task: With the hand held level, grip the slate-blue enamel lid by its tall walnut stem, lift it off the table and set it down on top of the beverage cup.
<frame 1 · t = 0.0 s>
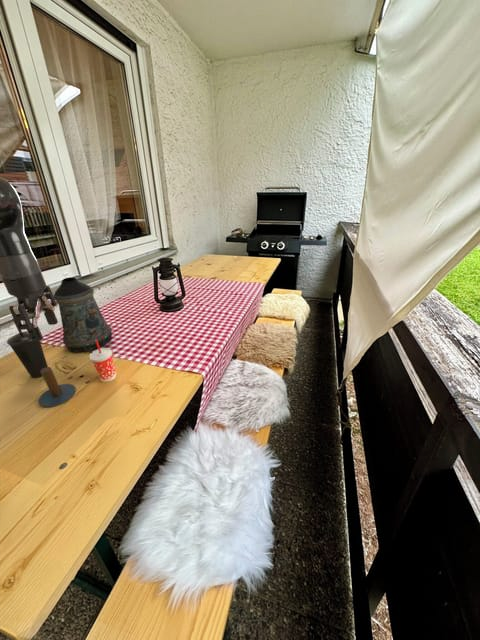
hand: (46, 331, 68), 20 cm above the table, tool pointing down, fingers open, 8 cm apart
beverage cup: (108, 377, 82), on the table
drinking cup: (40, 373, 84), on the table
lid: (57, 395, 75), on the table
beer stein: (87, 341, 101), on the table
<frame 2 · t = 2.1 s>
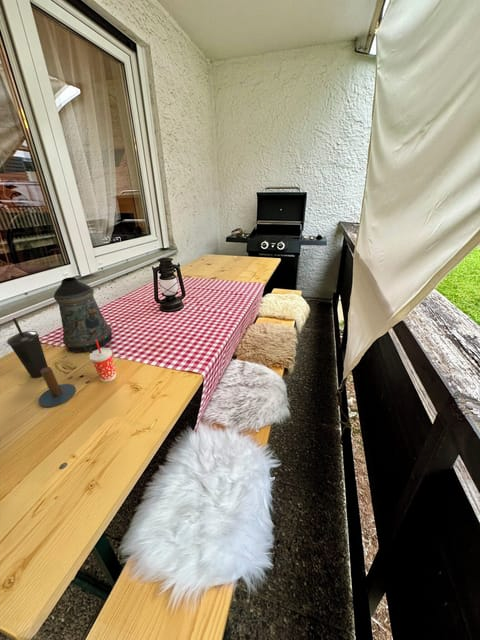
nothing on the table moved.
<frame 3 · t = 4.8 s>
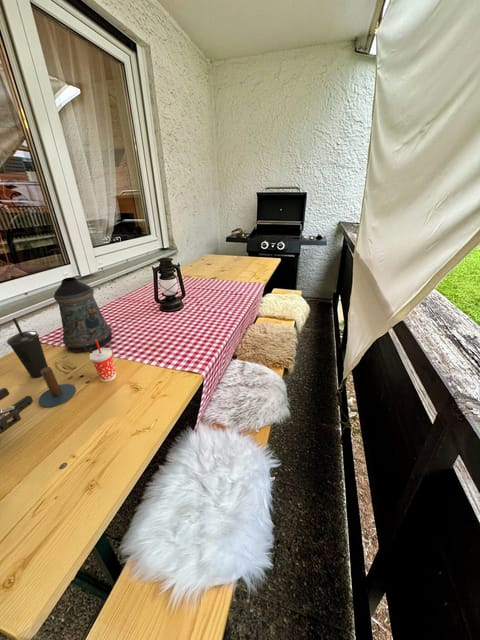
hand: (18, 394, 64), 8 cm above the table, tool horizontal, fingers open, 8 cm apart
nothing on the table moved.
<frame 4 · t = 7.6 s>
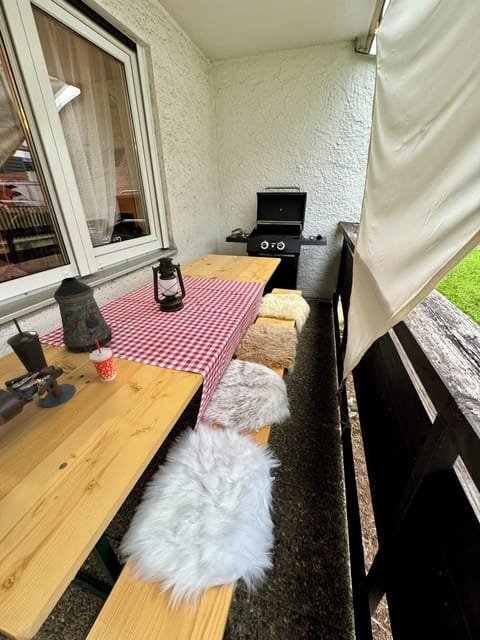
hand: (57, 368, 73), 8 cm above the table, tool horizontal, fingers closed on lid, 2 cm apart
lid: (57, 395, 75), on the table, touching gripper
everything else where it was.
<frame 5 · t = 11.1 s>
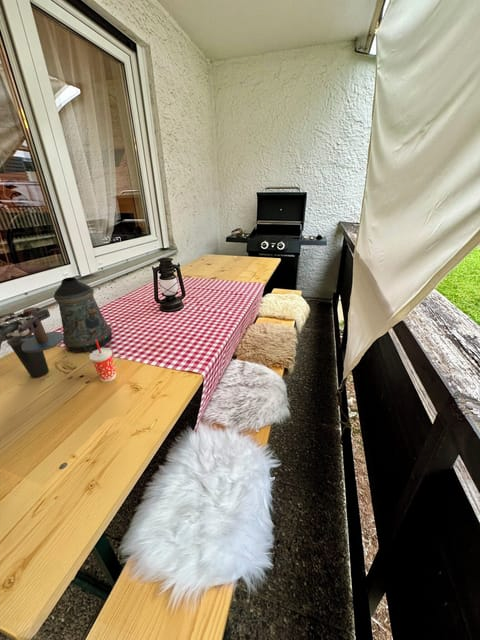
hand: (43, 311, 66), 25 cm above the table, tool horizontal, fingers closed on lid, 2 cm apart
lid: (43, 342, 67), point 18 cm above the table, touching gripper
everything else where it was.
when the fingers open (22 cm above the table, at t = 14.6 s): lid stays where it is, resting on beverage cup.
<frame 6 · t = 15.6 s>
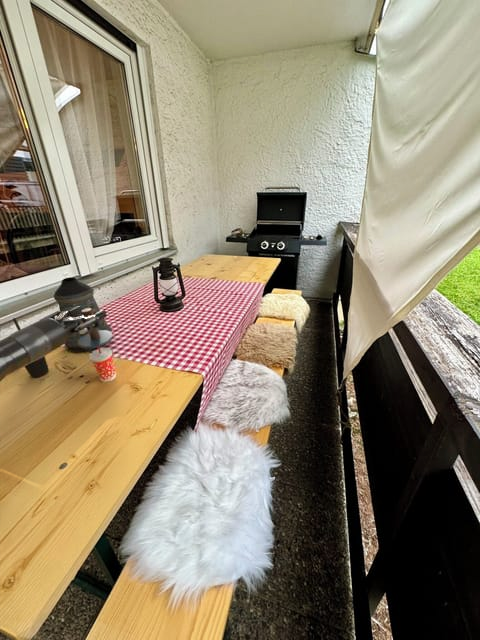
hand: (93, 311, 73), 22 cm above the table, tool horizontal, fingers open, 8 cm apart
beverage cup: (108, 377, 82), on the table, touching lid
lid: (96, 339, 75), point 14 cm above the table, touching beverage cup
everything else where it was.
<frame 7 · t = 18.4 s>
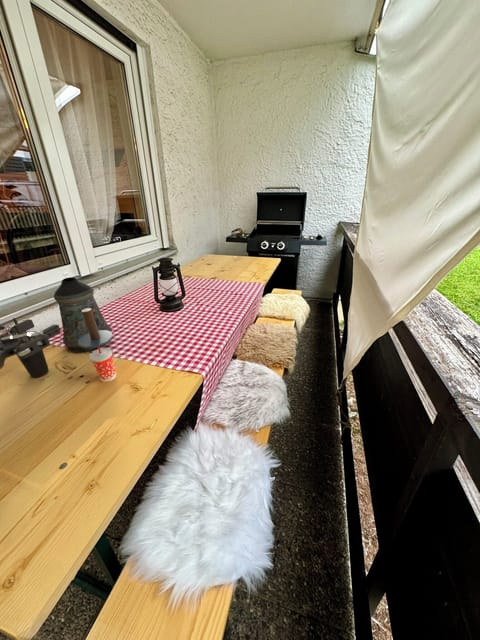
hand: (45, 325, 61), 25 cm above the table, tool horizontal, fingers open, 8 cm apart
nothing on the table moved.
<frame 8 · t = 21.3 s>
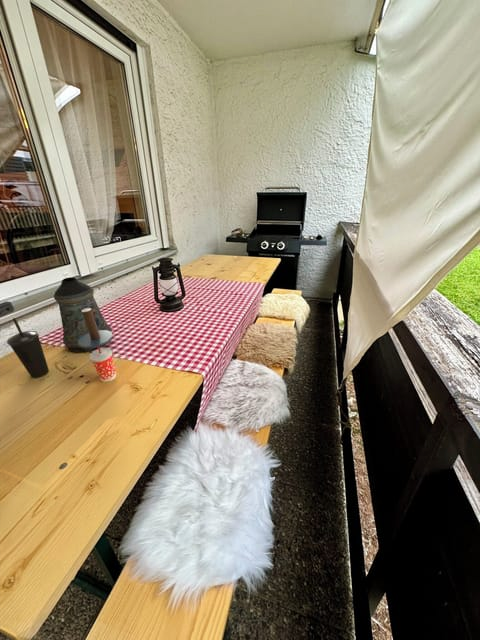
nothing on the table moved.
at the end: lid 0.1 cm off-centre on the beverage cup, point 14.2 cm above the beverage cup's base; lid tilted 0°; beverage cup tilted 0° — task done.
